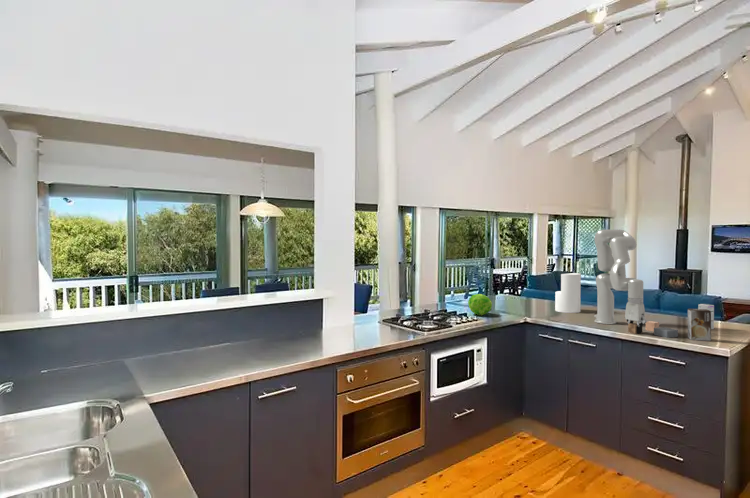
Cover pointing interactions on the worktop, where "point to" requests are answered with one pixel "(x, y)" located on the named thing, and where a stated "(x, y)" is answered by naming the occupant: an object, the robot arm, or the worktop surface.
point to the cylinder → (569, 294)
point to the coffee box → (699, 324)
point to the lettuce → (479, 304)
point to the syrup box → (711, 308)
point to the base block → (665, 332)
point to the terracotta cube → (651, 325)
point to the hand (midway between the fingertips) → (635, 331)
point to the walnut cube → (633, 328)
